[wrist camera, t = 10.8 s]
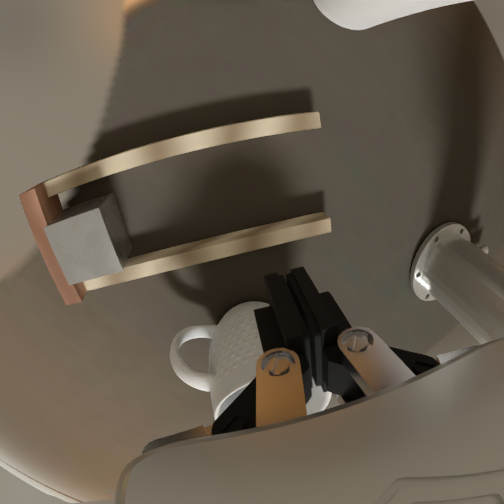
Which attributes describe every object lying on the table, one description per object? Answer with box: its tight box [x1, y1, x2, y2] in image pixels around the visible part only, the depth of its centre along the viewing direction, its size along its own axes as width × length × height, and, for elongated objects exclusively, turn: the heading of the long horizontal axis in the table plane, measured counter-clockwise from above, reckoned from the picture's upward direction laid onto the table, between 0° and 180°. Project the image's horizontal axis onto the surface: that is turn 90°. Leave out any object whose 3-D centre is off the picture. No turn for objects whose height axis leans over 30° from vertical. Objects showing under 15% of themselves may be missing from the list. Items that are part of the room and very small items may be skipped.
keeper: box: [44, 193, 132, 285], centre depth 25 cm, size 6×6×5 cm
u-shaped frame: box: [19, 112, 331, 305], centre depth 26 cm, size 28×12×4 cm, turn 100°
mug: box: [170, 301, 332, 420], centre depth 29 cm, size 15×11×13 cm
